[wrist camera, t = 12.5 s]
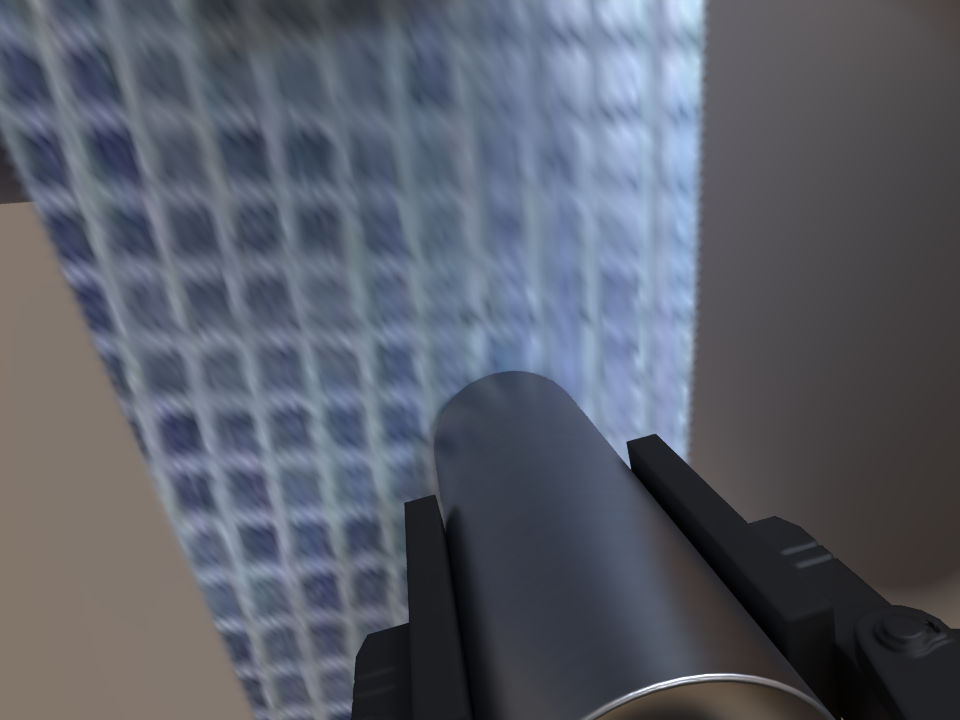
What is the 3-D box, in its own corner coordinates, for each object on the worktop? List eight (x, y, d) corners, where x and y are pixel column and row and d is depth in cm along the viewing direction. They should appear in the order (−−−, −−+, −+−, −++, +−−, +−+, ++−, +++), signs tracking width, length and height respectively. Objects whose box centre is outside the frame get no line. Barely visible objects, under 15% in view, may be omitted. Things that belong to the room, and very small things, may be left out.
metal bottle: (404, 472, 20) (429, 1017, 7) (486, 342, 19) (684, 686, 6) (531, 535, 21) (752, 1096, 8) (613, 415, 20) (1000, 830, 7)
